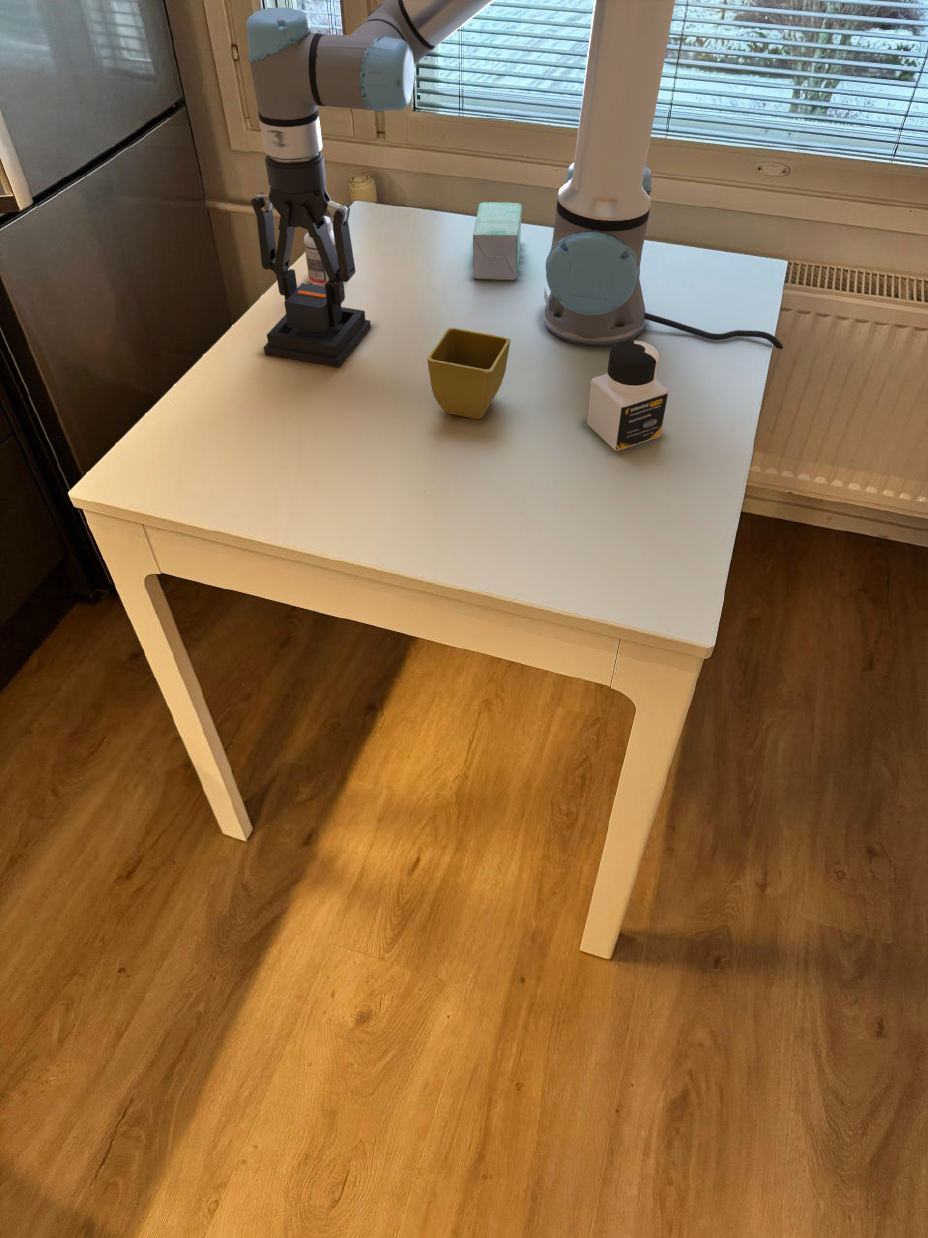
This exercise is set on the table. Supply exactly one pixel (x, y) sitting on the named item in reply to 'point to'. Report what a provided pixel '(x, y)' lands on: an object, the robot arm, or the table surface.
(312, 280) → the pill bottle
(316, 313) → the dark grey square block
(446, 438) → the table surface
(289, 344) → the base pad
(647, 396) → the medicine bottle
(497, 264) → the box
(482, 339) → the flower pot
